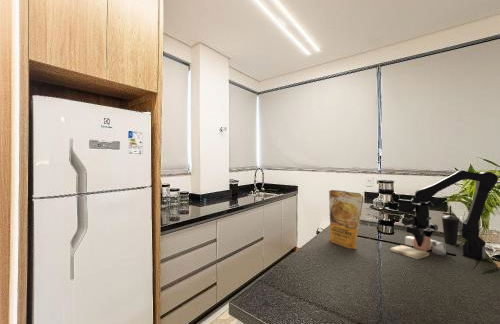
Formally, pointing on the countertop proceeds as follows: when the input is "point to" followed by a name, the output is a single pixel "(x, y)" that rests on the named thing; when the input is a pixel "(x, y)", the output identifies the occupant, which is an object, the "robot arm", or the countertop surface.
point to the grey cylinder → (438, 248)
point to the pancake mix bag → (344, 217)
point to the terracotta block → (423, 244)
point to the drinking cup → (450, 228)
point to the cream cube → (409, 241)
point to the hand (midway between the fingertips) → (422, 245)
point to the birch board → (409, 251)
